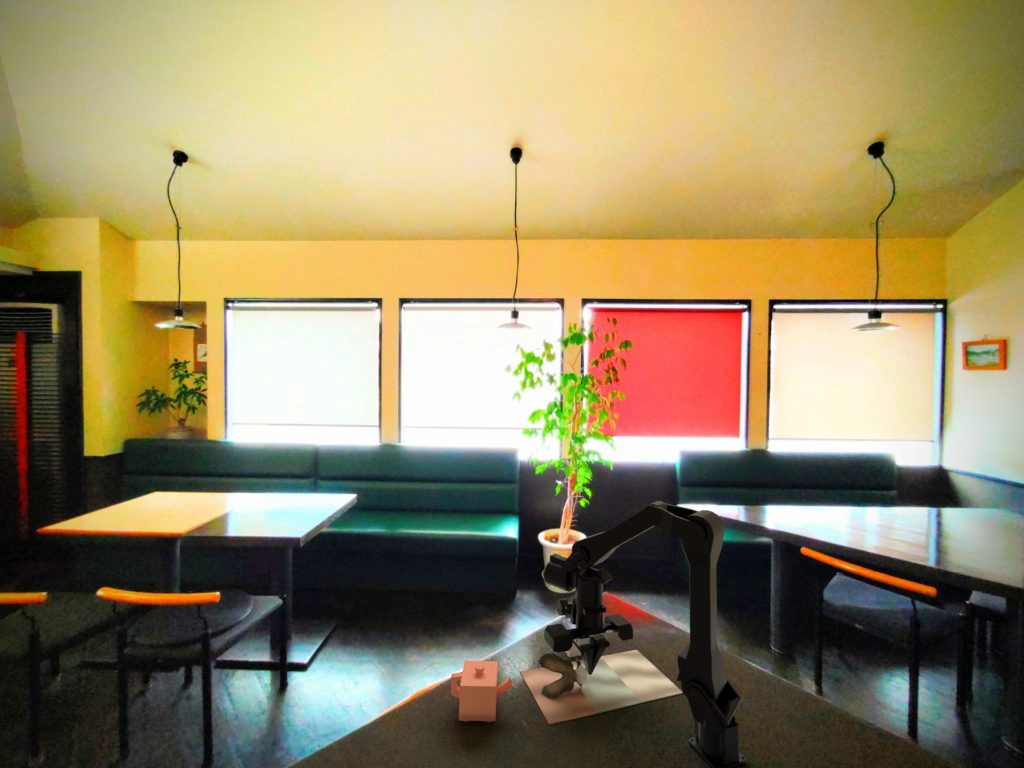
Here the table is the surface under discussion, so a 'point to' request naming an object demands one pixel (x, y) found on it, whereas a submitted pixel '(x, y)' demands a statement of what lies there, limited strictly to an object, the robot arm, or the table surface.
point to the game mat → (602, 687)
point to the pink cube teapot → (478, 690)
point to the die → (573, 651)
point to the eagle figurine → (567, 671)
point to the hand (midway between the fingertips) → (589, 673)
